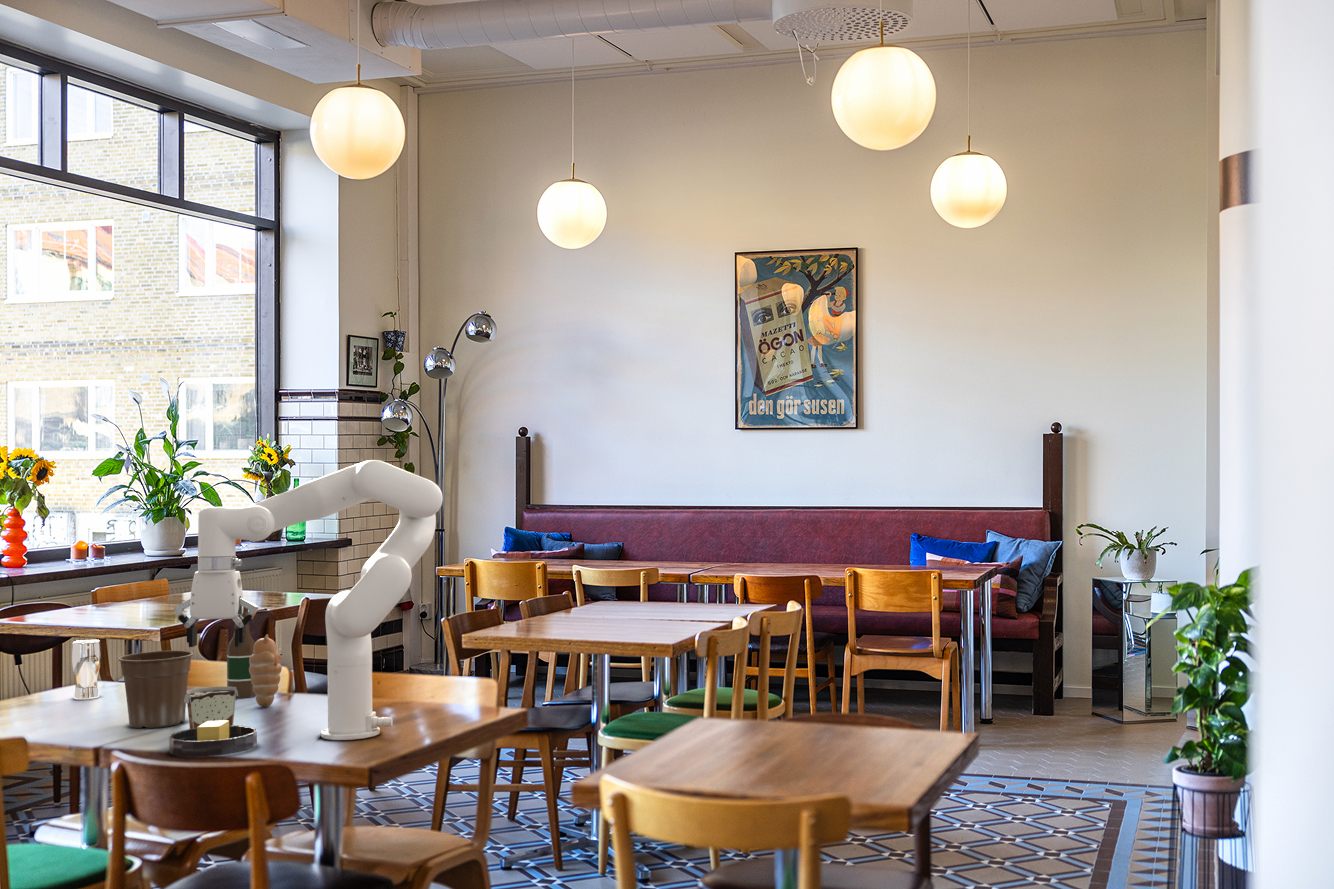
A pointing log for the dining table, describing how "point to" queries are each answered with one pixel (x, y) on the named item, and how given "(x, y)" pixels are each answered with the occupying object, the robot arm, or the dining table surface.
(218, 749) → the round cake pan
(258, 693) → the tan ribbed tapered piece
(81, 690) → the beer glass
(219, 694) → the food container
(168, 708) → the plant pot
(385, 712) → the dining table surface
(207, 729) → the cheese
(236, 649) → the beer bottle
